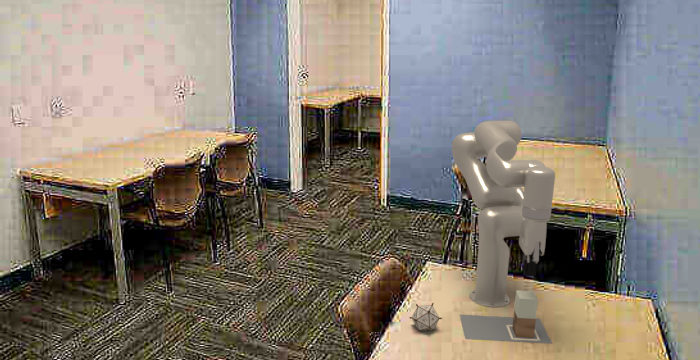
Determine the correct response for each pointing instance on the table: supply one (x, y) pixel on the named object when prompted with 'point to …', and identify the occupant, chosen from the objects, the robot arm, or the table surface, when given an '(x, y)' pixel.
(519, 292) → the sage block
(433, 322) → the game die
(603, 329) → the table surface
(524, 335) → the walnut block
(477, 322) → the board
